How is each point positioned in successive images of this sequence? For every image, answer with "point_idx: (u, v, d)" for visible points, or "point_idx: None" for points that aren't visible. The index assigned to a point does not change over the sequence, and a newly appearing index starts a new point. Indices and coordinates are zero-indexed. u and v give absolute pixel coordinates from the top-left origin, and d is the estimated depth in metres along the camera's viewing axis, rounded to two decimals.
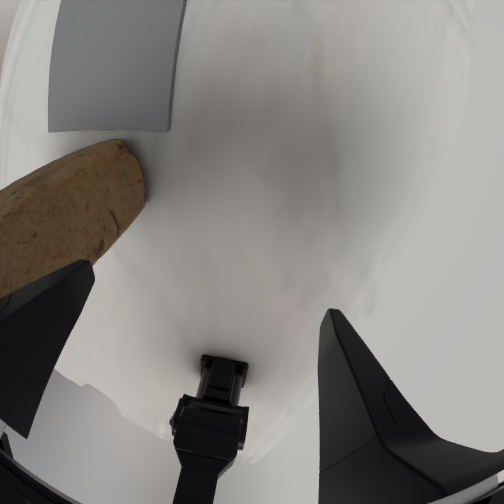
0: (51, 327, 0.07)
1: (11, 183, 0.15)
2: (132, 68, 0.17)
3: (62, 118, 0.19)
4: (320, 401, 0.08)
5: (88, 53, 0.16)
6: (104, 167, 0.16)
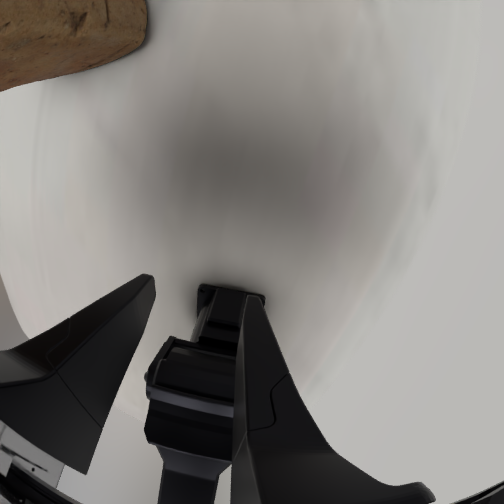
0: (117, 353, 0.07)
1: None
2: None
3: None
4: (234, 391, 0.08)
5: None
6: None
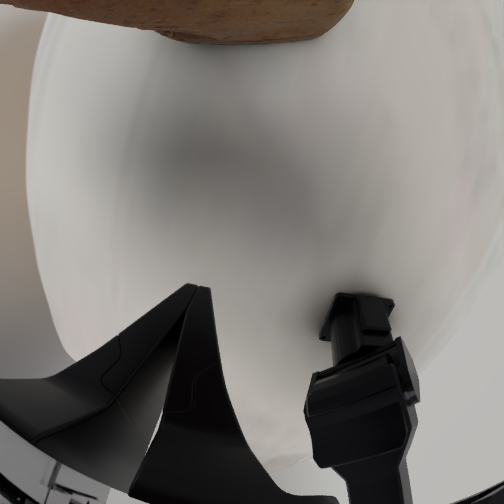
0: (167, 369, 0.07)
1: None
2: None
3: None
4: None
5: None
6: None
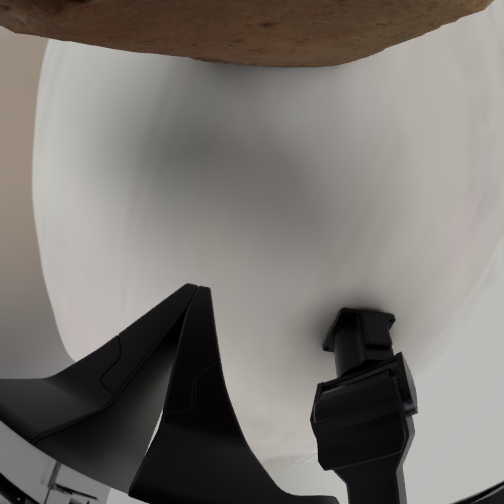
0: (166, 369, 0.07)
1: None
2: None
3: None
4: None
5: None
6: None
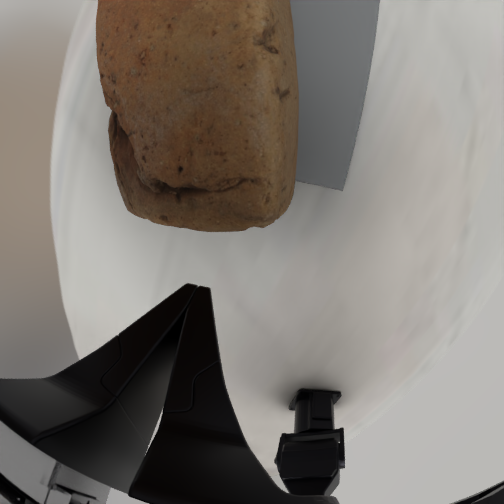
0: (166, 369, 0.07)
1: None
2: (309, 108, 0.17)
3: None
4: None
5: None
6: (298, 104, 0.14)
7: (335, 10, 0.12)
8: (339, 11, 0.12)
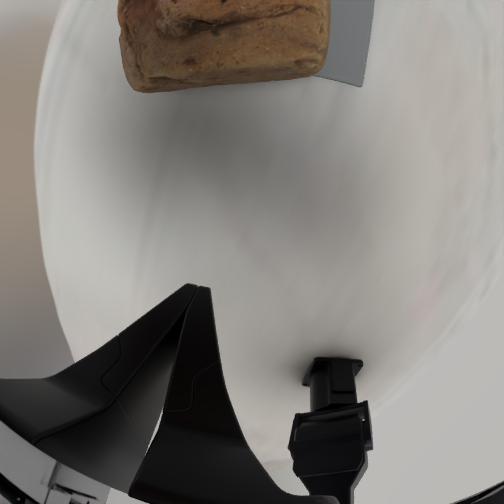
0: (166, 369, 0.07)
1: None
2: None
3: None
4: None
5: None
6: None
7: None
8: None
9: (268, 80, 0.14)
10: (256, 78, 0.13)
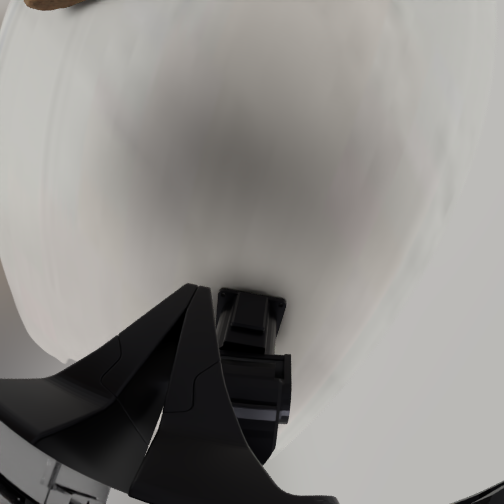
0: (166, 368, 0.07)
1: None
2: None
3: None
4: None
5: None
6: None
7: None
8: None
9: None
10: None
